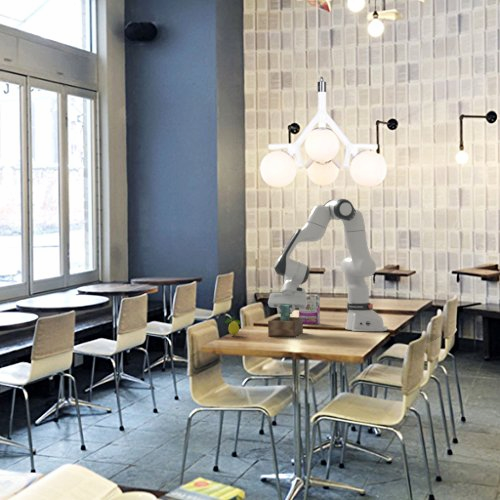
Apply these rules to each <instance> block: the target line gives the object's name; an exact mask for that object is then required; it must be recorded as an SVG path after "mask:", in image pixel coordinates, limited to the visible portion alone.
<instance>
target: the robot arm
mask: <svg viewBox="0 0 500 500" xmlns="http://www.w3.org/2000/svg"><path fill="white" fill-rule="evenodd" d="M331 220H336V221H339V220H341V222H342V223H343V226H344V227H343V229H344V242H345V248H347V250H348V252H349V256H347V257H344V258H343V260H342V261H341V264H340V268H341V271H342V272H343V274H344V277H345V282H346V285H347V286H346V288H347V303H346V313H347V317H346V324H345V330H349V331H353V332H384V331H385V332H386V331H388V326H385V324H384V321H383V320H384V319H383V317H382V316H381V315H380V314H378V313H377V312H376V311H375V310H373V303H371V302H370V293H369V292H370V291H369V290H370V289H369V285H368V284H367V281H366V279H365V278H368V277H371V276H373V275H374V274H375V273H376V270H377V264H376V262H375V261H374V259H373V258H372V256H371V253H370V251H369V247H368V242H367V235H366V234H367V233H366V226H365V221H364V215H363V213H362V212H361V210H359V209H356V208H355V207H354V205H353V203H352V202H351V201H350V200H349V199H346V198H334V199H330V200H328V201H327V202H325V203H324V204H316V205H315V206H314V207H313V208H312V210H311V212H310V214H309V215H308V217H307V219H306V222H305V224H304V226H302V228H298V229H297V230H295V232H294V233H293V235H292V236H291V238H290V239H289V241H288V242H287V244H286V246H285V248H284V249H283V251H282V253H281V254H280V255H279V257H278V258H277V259H276V261H275V263H274V267H273V268H274V272H275V273H276V274H277V275H278V276H282V277H284V278H283V284H282V287H281V291H273V292H270V293H269V296H268V300H267V304H268V307H269V308H276V309H277V310H278V311H277V312H278V314H279V315H281V305H290V310H289V314H290V315H293V312H294V311H295V310H296V309H299V308H306V306H307V299H306V295H307V292H306V290H305V288H302V287H300V285H303V284H305V283H306V282H307V281H308V279H309V276H310V268H309V265H307V264H306V263H303V262H300V261H297V260H295V259H292V258H291V257H290V256H291V254H292V253H293V251H294V250H295V248H296V246H297V245H298V244H299V243H304V242H305V243H306V242H308V243H309V242H311V243H312V242H318V241H319V240H321V239H323V237H324V235H325V233H326V231H327V228H328V225H329V223H330V222H331Z"/></svg>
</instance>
